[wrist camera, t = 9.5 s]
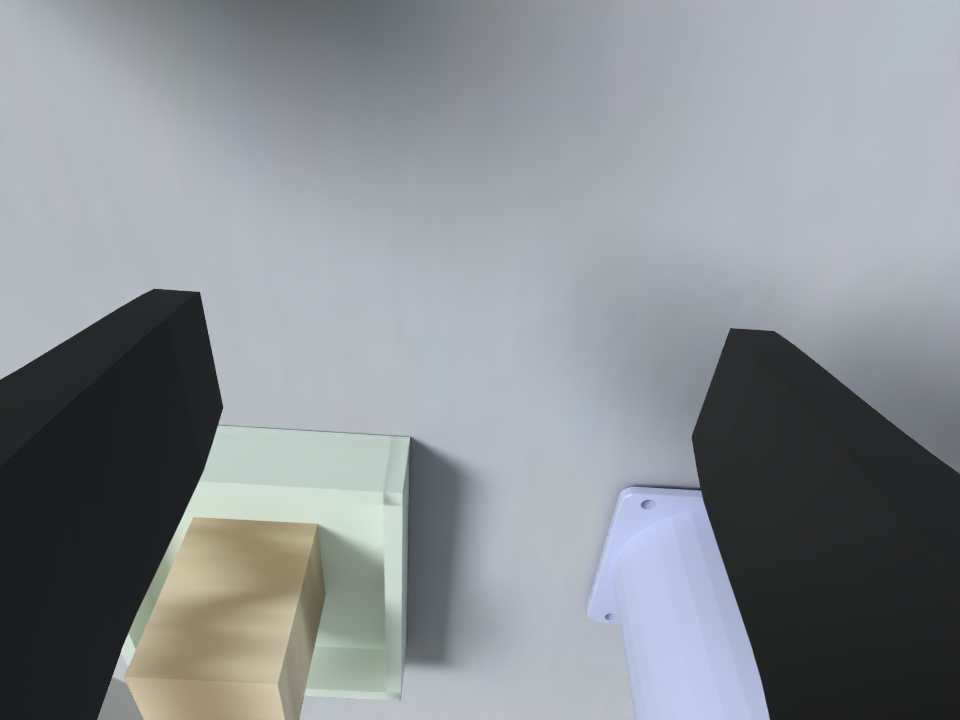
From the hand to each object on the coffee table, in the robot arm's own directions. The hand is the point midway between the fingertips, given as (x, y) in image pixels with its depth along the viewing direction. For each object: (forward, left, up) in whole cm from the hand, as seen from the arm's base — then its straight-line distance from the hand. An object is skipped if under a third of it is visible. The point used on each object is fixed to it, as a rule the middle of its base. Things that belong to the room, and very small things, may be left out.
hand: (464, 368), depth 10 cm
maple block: (+7, +17, -9) cm, 20 cm away
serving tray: (+7, +17, -9) cm, 21 cm away
